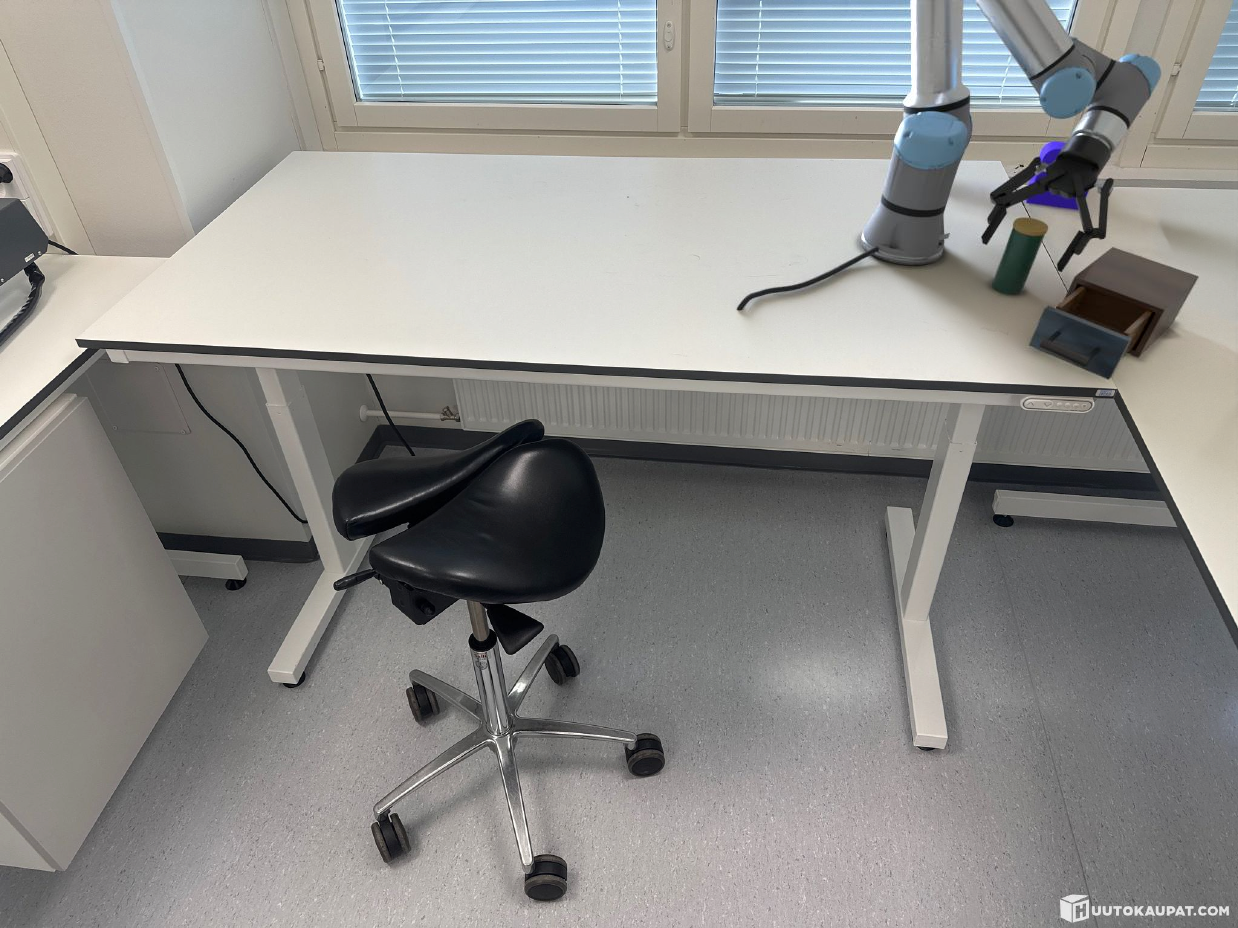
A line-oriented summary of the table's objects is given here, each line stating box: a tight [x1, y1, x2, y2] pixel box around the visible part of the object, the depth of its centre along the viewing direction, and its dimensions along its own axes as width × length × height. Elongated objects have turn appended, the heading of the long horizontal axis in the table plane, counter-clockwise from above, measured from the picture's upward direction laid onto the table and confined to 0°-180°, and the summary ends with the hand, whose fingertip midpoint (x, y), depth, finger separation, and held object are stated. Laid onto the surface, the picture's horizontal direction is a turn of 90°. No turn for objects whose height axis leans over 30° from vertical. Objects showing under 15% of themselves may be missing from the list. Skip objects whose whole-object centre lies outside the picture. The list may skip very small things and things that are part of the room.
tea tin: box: [991, 217, 1049, 296], centre depth 140 cm, size 6×6×12 cm
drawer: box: [1028, 285, 1155, 381], centre depth 124 cm, size 20×13×7 cm, turn 134°
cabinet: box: [1064, 246, 1200, 359], centre depth 132 cm, size 16×14×9 cm
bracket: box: [1025, 140, 1090, 211], centre depth 173 cm, size 18×11×12 cm, turn 163°
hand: (1020, 254), depth 139 cm, fingers open, 13 cm apart
